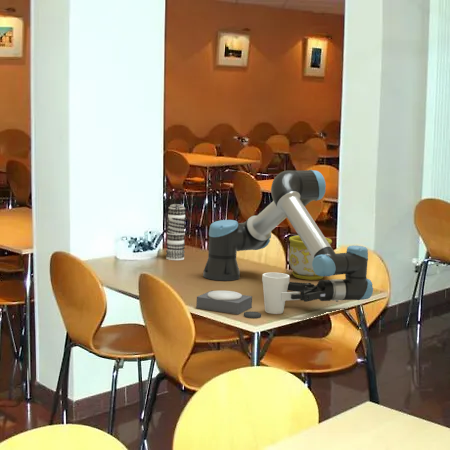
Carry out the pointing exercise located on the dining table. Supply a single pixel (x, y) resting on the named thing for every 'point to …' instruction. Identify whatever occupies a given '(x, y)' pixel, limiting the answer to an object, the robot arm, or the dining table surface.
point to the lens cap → (252, 314)
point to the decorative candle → (176, 232)
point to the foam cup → (274, 291)
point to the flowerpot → (302, 259)
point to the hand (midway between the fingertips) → (274, 291)
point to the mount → (224, 302)
